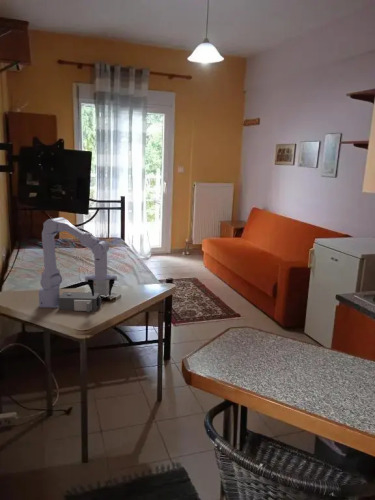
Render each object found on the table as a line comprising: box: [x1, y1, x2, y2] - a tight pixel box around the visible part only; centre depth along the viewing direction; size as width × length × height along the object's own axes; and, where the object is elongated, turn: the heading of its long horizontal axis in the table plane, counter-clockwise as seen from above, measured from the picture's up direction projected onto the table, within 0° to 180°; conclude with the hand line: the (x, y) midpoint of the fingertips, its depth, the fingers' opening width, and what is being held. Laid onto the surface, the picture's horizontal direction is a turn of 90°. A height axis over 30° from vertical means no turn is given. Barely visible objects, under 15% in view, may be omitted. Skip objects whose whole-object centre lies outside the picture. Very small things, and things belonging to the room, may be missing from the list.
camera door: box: [73, 300, 93, 313], centre depth 192 cm, size 8×4×5 cm, turn 90°
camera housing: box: [58, 291, 102, 312], centre depth 199 cm, size 19×9×7 cm, turn 90°
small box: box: [94, 280, 109, 296], centre depth 215 cm, size 8×6×10 cm
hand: (101, 295), depth 191 cm, fingers open, 7 cm apart
